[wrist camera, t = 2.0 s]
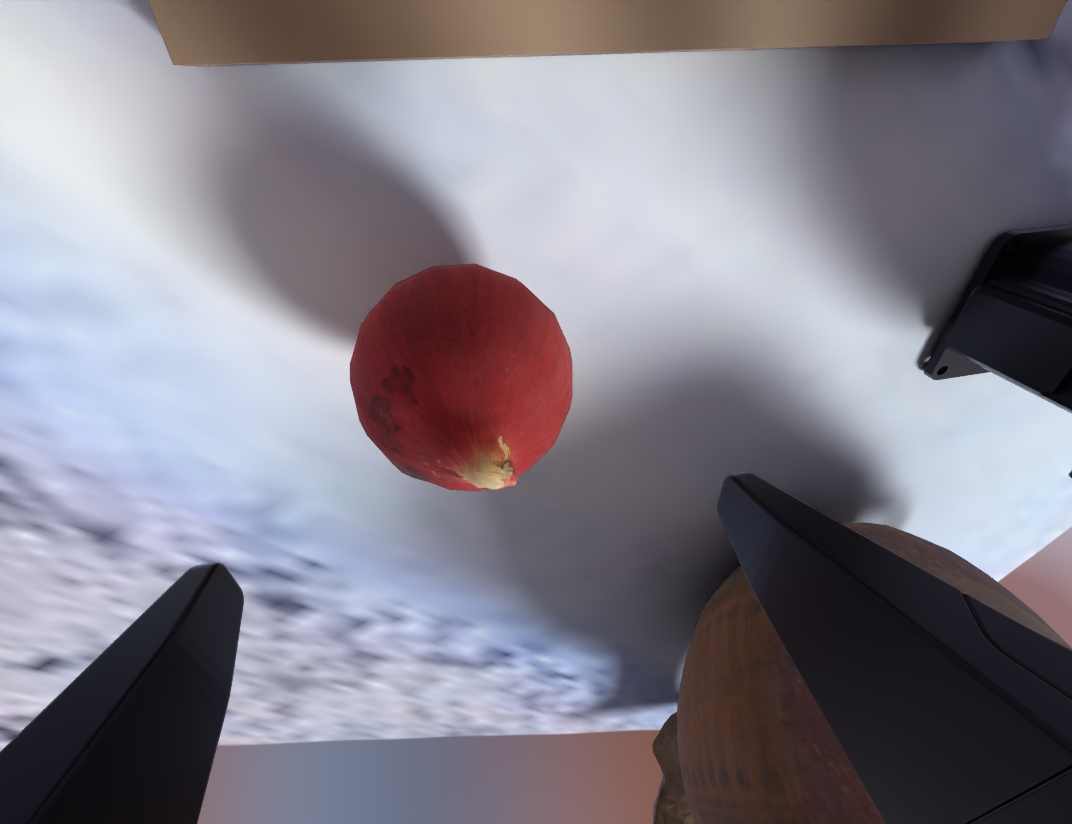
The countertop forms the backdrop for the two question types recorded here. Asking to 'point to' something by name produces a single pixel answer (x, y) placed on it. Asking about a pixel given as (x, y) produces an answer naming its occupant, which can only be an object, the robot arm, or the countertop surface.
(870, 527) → the jug
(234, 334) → the countertop surface
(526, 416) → the onion
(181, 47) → the stacking base
